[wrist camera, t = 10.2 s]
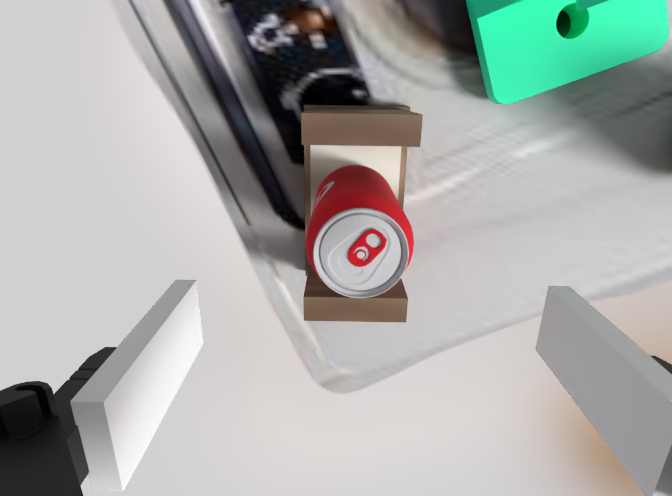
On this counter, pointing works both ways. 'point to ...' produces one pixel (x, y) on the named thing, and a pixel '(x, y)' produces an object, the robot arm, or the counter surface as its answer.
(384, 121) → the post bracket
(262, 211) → the counter surface
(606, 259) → the counter surface
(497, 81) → the camera mount
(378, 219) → the beverage can
